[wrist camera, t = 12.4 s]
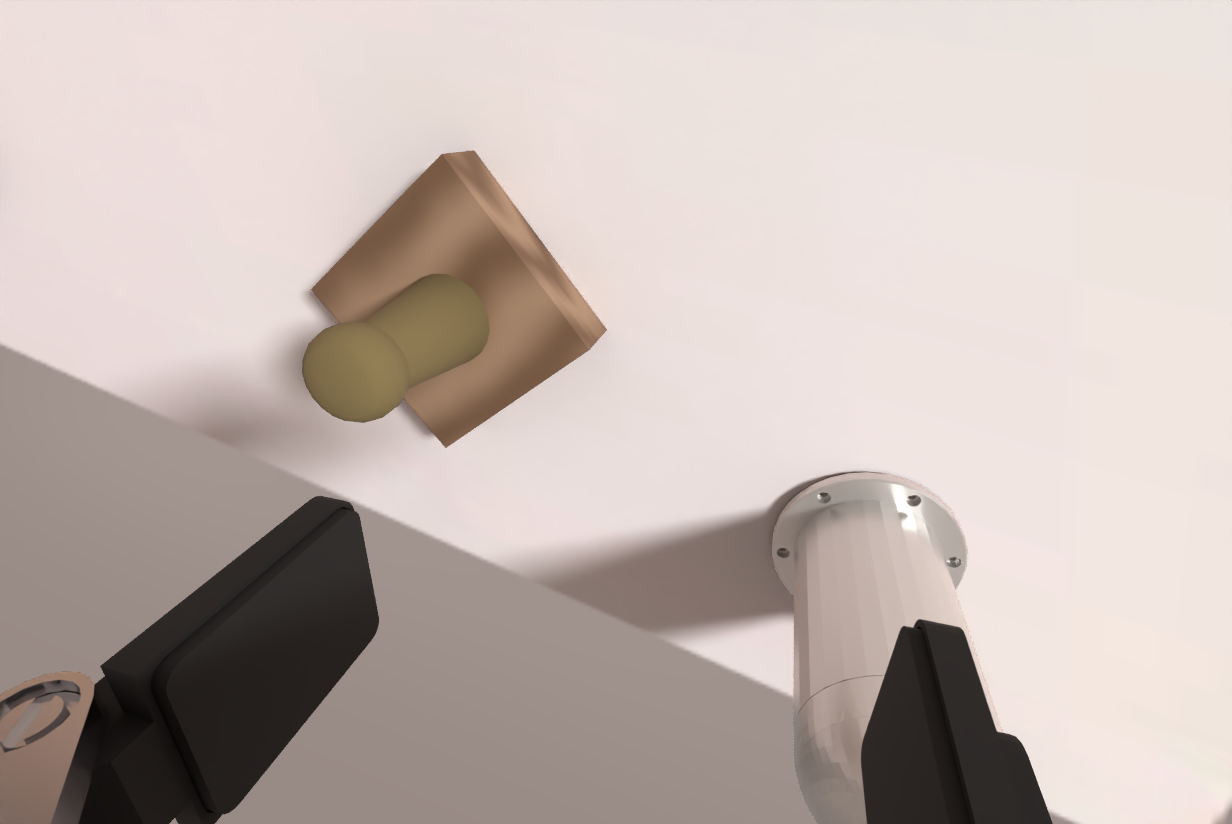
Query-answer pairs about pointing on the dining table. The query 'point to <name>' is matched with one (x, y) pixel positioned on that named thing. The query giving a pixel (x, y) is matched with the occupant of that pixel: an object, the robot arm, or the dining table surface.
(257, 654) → the robot arm
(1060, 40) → the dining table surface
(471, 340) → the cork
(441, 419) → the walnut plinth
